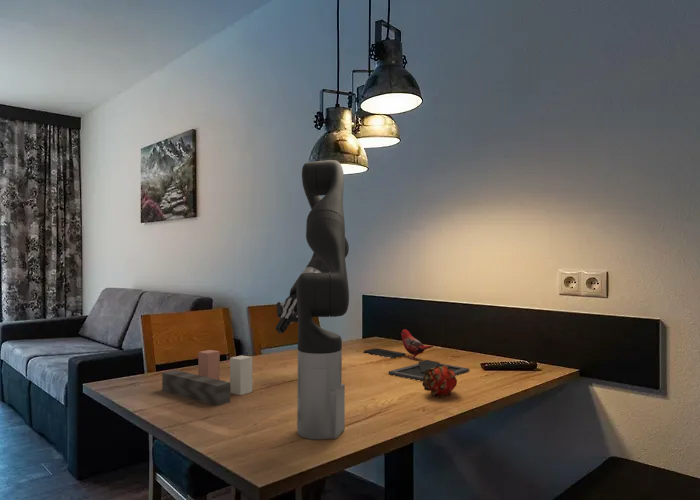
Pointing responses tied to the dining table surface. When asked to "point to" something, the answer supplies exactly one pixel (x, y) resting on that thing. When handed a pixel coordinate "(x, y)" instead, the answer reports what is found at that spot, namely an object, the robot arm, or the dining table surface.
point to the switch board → (196, 387)
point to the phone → (384, 353)
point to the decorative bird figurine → (412, 344)
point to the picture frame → (423, 370)
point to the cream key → (240, 375)
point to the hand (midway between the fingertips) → (279, 331)
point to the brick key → (209, 364)
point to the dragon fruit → (439, 381)
